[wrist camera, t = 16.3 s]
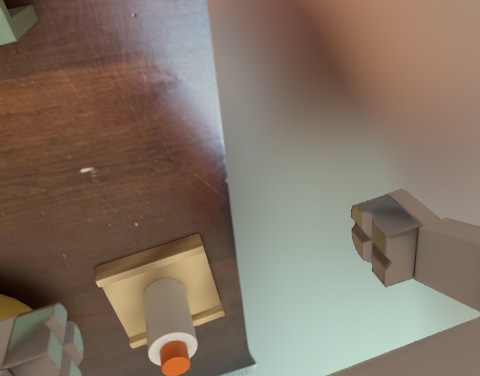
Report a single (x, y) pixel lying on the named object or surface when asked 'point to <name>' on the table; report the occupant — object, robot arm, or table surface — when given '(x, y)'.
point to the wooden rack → (155, 268)
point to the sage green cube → (15, 22)
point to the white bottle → (169, 326)
